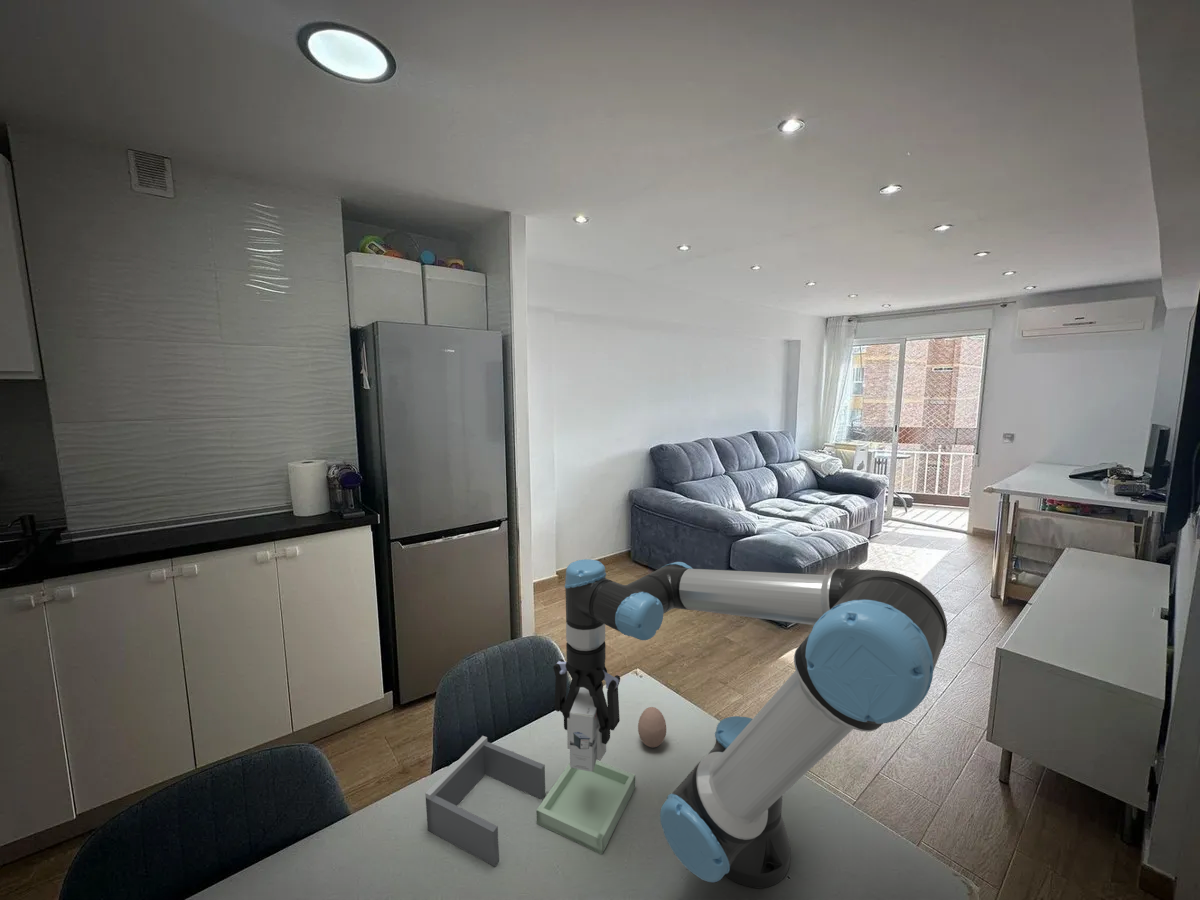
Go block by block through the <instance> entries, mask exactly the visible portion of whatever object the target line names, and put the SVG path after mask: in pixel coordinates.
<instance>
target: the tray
mask: <svg viewBox="0 0 1200 900" xmlns="http://www.w3.org/2000/svg"><path fill="white" fill-rule="evenodd" d="M635 789H636V774H634V773H631V772H629V771H626V770H623V769H621V768H618V767H615V766H613V765H611V764H608V763H605V762H603V761H599V760H596V764H595V767H594V771H592V772H591V771H584V770H579V769H575V768H571V767H570V762H569V763H568V765H566V767H565V769H564V770H563V771H562V773H561V774H560V776H559V777H558V779H557V780H556V781H555V783H554V785H553V786H552V787H551V789H550V790H549V792H548V793H547V794H546V795H545V797H544V798H543V800H541V802H540V804H539V806H538V807H537V809H535V811H536V825H539V826H541V827H542V828H544V829H546V830H549V831H551V832H553V833H556V834H557V835H560V837H561V836H562V837H564V838H566V839H568V840H570V841H572V842H574V843H576V844H578V845H580V846H582V847H584V848H587V849H589V850H591V851H593V852H596V853H598V854H599V855H603V854H604V851H605V849H606V847H607V846H608V843H609V842H610V839H611V837H612V836H613V833H614V831H615V829H616V827H617V825H618V823H619V821H620V819H621V817H622V816H623V813H624V811H625V809H626V807H627V805H628V803H629V801H630V799H631V796H633V793H634V791H635Z"/></svg>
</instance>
